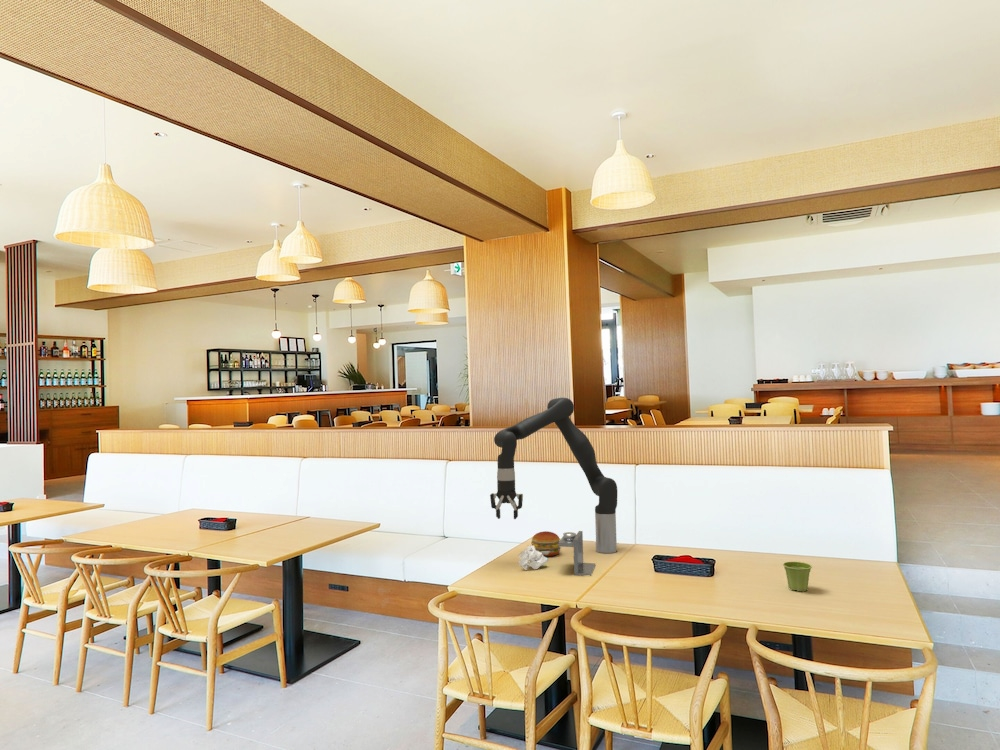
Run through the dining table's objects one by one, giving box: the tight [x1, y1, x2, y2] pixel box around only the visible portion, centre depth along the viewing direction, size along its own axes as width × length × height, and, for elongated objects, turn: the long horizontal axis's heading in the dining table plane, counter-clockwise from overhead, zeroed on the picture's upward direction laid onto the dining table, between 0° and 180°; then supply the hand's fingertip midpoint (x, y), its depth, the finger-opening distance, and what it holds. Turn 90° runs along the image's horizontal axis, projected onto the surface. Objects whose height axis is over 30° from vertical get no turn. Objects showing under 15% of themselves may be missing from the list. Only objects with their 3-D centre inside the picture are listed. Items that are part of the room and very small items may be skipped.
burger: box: [530, 530, 561, 557], centre depth 288 cm, size 13×14×10 cm
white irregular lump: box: [517, 544, 549, 571], centre depth 267 cm, size 12×9×10 cm
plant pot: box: [782, 561, 813, 592], centre depth 230 cm, size 9×9×9 cm
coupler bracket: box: [559, 530, 596, 577], centre depth 262 cm, size 16×12×14 cm
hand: (506, 518), depth 271 cm, fingers open, 6 cm apart
